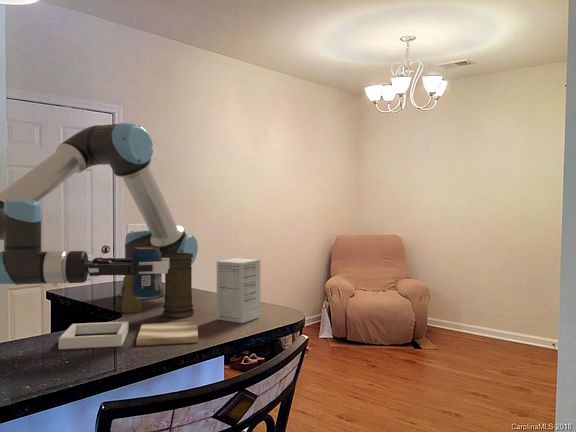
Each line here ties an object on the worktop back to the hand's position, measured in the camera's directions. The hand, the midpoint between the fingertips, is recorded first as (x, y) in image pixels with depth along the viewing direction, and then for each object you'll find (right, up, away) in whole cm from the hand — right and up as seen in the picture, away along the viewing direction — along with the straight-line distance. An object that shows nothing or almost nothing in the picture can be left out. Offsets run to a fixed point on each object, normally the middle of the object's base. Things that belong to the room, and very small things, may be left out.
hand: (168, 265), depth 116 cm
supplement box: (+15, -18, +20) cm, 31 cm away
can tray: (-17, -18, -2) cm, 24 cm away
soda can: (-5, -8, -1) cm, 9 cm away
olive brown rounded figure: (-18, -17, +29) cm, 38 cm away
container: (-3, -17, +24) cm, 30 cm away
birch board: (0, -18, +1) cm, 18 cm away
